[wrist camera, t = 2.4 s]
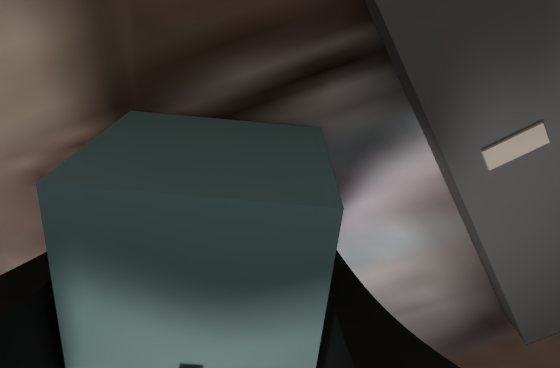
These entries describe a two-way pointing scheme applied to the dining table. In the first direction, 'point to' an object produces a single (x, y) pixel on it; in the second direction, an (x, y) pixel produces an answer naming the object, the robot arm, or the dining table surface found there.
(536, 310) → the key board
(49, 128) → the dining table surface
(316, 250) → the keyed cap
